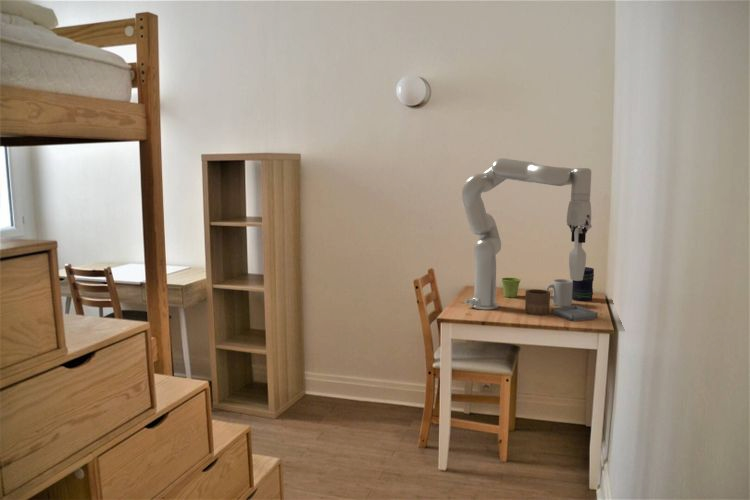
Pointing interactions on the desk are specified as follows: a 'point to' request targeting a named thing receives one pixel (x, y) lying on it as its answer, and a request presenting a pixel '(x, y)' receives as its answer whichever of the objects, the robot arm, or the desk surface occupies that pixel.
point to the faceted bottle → (577, 259)
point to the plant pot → (510, 286)
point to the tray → (574, 313)
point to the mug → (561, 292)
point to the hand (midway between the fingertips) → (578, 241)
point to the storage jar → (584, 287)
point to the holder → (537, 302)
